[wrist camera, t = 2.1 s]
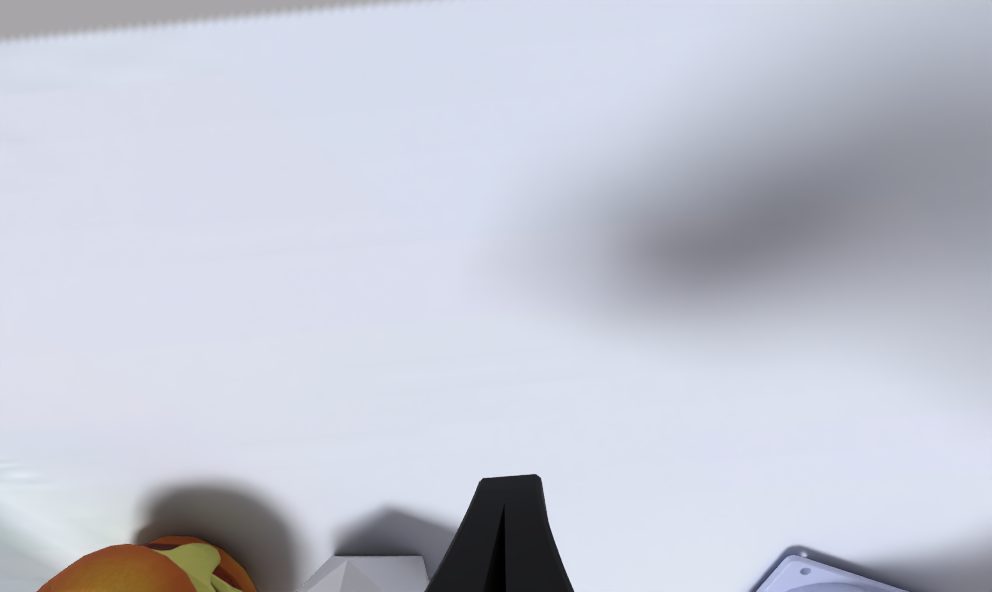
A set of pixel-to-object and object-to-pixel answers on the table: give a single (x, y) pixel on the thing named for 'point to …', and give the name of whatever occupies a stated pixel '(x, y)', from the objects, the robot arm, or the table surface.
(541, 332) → the table surface
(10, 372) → the table surface
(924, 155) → the table surface
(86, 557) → the cheeseburger
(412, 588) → the die
